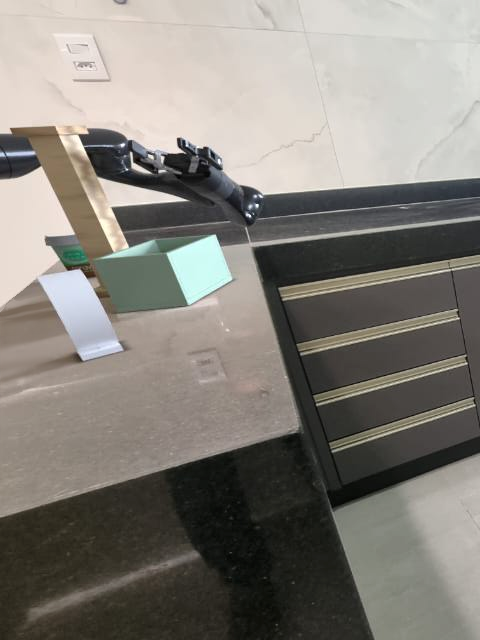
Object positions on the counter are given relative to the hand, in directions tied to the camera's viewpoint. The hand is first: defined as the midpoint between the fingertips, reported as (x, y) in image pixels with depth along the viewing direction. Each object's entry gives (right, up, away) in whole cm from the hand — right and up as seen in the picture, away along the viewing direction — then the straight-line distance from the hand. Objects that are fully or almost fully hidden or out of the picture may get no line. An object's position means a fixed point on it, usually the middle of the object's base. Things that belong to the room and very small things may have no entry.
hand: (154, 142), depth 106 cm
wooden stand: (-13, -29, +7) cm, 32 cm away
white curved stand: (+16, -43, -26) cm, 53 cm away
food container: (-33, -24, +20) cm, 45 cm away
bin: (+4, -30, +1) cm, 31 cm away
